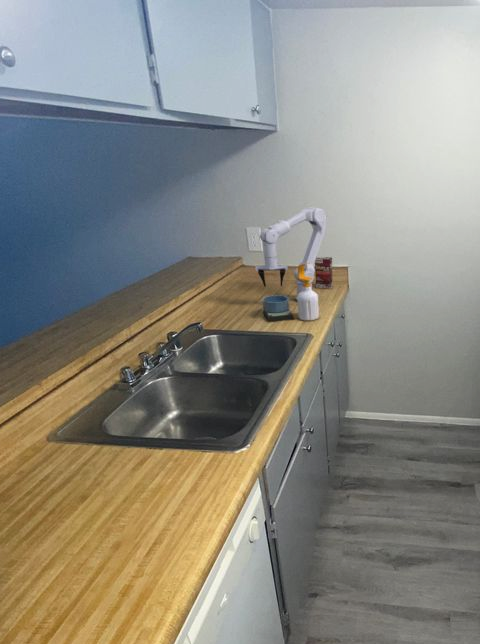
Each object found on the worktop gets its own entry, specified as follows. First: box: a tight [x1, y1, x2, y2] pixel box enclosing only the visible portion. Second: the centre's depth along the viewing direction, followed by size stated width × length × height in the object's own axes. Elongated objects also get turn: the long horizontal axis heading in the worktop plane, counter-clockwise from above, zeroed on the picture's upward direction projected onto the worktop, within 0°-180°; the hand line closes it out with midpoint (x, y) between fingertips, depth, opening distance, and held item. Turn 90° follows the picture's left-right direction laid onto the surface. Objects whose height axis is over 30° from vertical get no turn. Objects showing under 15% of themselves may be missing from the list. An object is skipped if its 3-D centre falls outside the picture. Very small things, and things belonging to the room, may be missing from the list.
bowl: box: [262, 294, 290, 313], centre depth 213 cm, size 11×11×5 cm
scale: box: [262, 308, 294, 323], centre depth 214 cm, size 13×11×3 cm
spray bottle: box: [296, 262, 320, 322], centre depth 207 cm, size 9×9×25 cm
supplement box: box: [314, 256, 334, 290], centre depth 253 cm, size 9×5×16 cm, turn 80°
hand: (273, 285), depth 222 cm, fingers open, 7 cm apart
